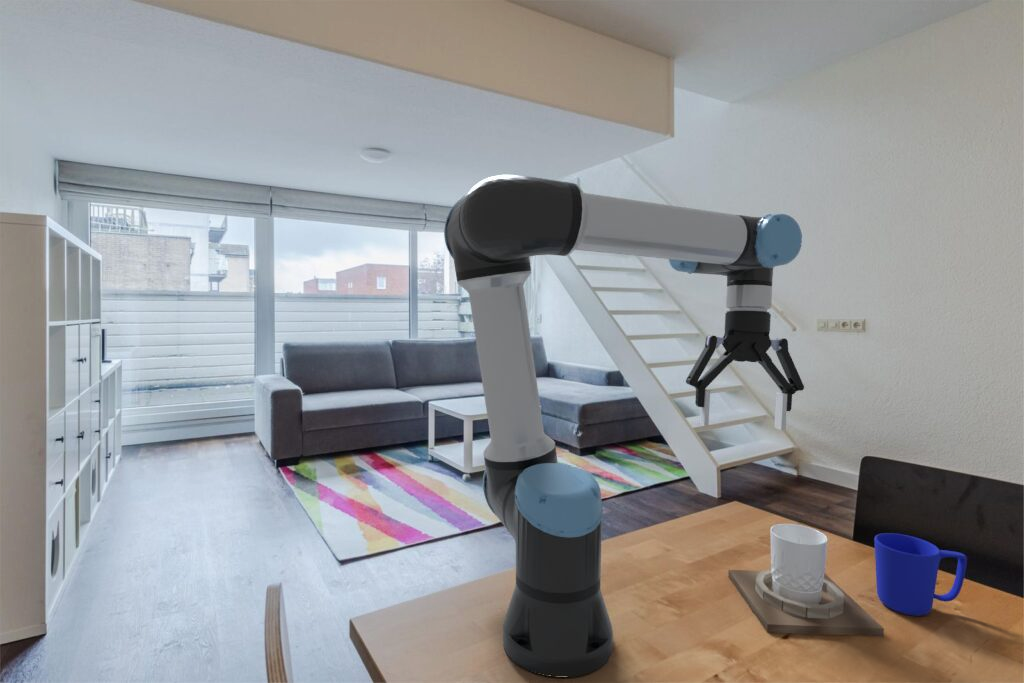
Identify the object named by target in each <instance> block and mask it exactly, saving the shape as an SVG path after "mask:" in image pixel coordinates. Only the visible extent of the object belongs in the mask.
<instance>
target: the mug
mask: <svg viewBox="0 0 1024 683" xmlns="http://www.w3.org/2000/svg"><path fill="white" fill-rule="evenodd" d="M873 539H874V542H873V543H874V557H875V558H874V559H875V561H874V562H875V579H876V582H875V584H876V593H877V597H878V599H879V600H880V602H881V603H882V604H883V605H885V606H886V607H887V608H889V609H891V610H893V611H895V612H898V613H901V614H903V615H909V616H918V617H919V616H925V615H928V613H930V612H931V611H932V609H933V604H934V599H935V600H937V601H940V602H951V601H954V600H955V599H957V597H958V596H959V594H960V592H961V590H962V587H963V585H964V584H963V583H964V580H965V574H966V569H967V563H968V557H967V555H965V554H964V553H963V552H958V551H953V550H945V549H944V550H943V549H939V547H938V546H936V545H935V544H933V543H931V542H929V541H927V540H925V539H921V538H918V537H915V536H911V535H907V534H903V533H893V532H889V533H888V532H884V533H879V534H876V535H875V536H874V538H873ZM944 558H956V559H957V566H956V573H955V576H954V577H955V578H954V580H953V581H954V582H953V584H952V587H951V589H950V590H948V592H947V593H944V594H937V593H936V592H935V591H936V585H937V579H938V572H939V568H940V567H939V565H940V562H941V560H942V559H944Z"/></svg>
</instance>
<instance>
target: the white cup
mask: <svg viewBox="0 0 1024 683" xmlns="http://www.w3.org/2000/svg"><path fill="white" fill-rule="evenodd" d="M769 529H770V531H769V532H770V567H771V568H770V569H771V573H772V589H773V592H774V593H776V594H777V595H779V596H781V597H783V598H785V599H788V600H792V601H796V602H799V603H803V604H816V605H818V604H819V603H820V602H821V597H822V586H823V582H824V573H825V572H826V565H827V564H826V561H827V555H828V554H827V552H828V541H829V540H828V537H827V535H826V534H825V533H823V532H822V531H819V530H817V529H815V528H813V527H809V526H805V525H800V524H795V523H779V524H773V525H772V526H771V527H770V528H769ZM825 574H826V573H825Z"/></svg>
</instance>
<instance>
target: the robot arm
mask: <svg viewBox="0 0 1024 683" xmlns="http://www.w3.org/2000/svg"><path fill="white" fill-rule="evenodd" d="M443 232H444V233H443V236H444V243H445V245H446V248H447V251H448V253H449V254H450V255H449V256H451V258H452V259H453V264H454V265H453V266H454V271H455V276H456V277H455V278H456V283H457V284H458V285H459V286H460V287H461V288H463V289H464V290H465V291H466V292H467V293H468V297H469V302H470V309H471V310H470V311H471V316H472V323H473V330H474V337H475V342H476V350H477V351H476V352H477V356H478V362H479V369H480V376H481V383H482V389H483V395H484V396H483V397H484V401H485V402H484V403H485V407H486V408H485V409H486V415H487V416H486V417H487V422H488V428H489V436H490V442H489V443H488V445H486V447H485V448H484V450H483V459H484V467H485V469H484V472H483V475H482V490H483V494H484V498H485V501H486V504H487V506H488V508H489V509H490V511H491V512H492V513H493V514H494V516H496V518H498V520H499V521H500V522H501V524H502V525H503V526H504V527H505V529H506V530H507V531H508V533H509V534H510V536H511V537H512V538H513V539H514V542H515V587H514V590H513V593H512V595H511V598H510V601H509V604H508V607H507V610H506V614H505V616H504V620H503V624H502V645H503V648H504V651H505V653H506V654H507V656H508V657H509V658H510V659H511V660H512V661H513V662H514V663H515V664H516V665H518V666H519V667H521V668H523V669H524V668H526V669H527V670H526V669H525V670H526V671H528V670H530V671H529V672H531V671H533V672H536V673H540V674H544V675H551V676H568V677H567V678H574V677H575V676H576V677H579V676H584V675H588V674H590V673H593V672H595V671H597V670H598V669H601V667H603V665H604V666H605V664H606V663H607V662H608V661H609V659H610V658H611V657H612V653H613V646H614V631H613V626H612V622H611V619H610V615H609V612H608V609H607V606H606V603H605V600H604V596H603V593H602V589H601V574H602V572H601V570H602V569H601V568H602V565H601V564H602V521H603V520H602V519H603V512H604V510H603V507H604V506H603V502H602V492H601V488H600V484H599V483H598V481H597V480H596V478H595V477H594V476H593V475H592V474H590V473H589V472H588V471H586V470H584V469H582V468H579V467H571V466H570V465H568V464H564V463H559V461H558V456H557V448H556V447H557V446H556V442H555V440H554V439H553V438H551V437H550V436H549V435H547V434H546V433H545V431H544V430H545V429H544V423H543V418H542V417H543V416H542V409H541V403H540V394H539V388H538V382H537V381H538V380H537V374H536V367H535V361H534V352H533V345H532V338H531V332H530V324H529V323H530V322H529V318H528V309H527V301H526V295H525V288H524V285H525V282H526V281H527V280H528V278H529V277H530V276H531V274H532V267H531V260H530V257H535V256H563V257H567V256H569V255H571V254H572V253H573V252H574V251H586V252H595V253H606V254H614V255H615V254H616V255H626V256H633V257H634V256H635V257H645V258H646V257H647V258H653V259H654V258H656V259H663V260H668V262H669V264H670V266H671V269H674V270H675V271H677V272H683V273H687V274H690V275H691V274H699V275H701V274H702V275H717V276H719V275H720V276H725V277H726V300H725V301H726V303H725V307H726V308H727V309H728V310H727V311H726V312H725V317H724V318H725V319H724V335H723V336H722V337H718V336H716V335H712V334H711V335H707V336H706V337H705V344H704V348H703V349H702V351H701V353H700V355H699V357H698V358H697V360H696V362H695V363H694V364H693V367H692V369H691V371H690V372H689V374H688V375H687V377H686V379H685V383H686V384H687V385H690V386H691V387H693V388H695V406H696V407H697V408H700V409H699V410H700V411H699V424H700V425H701V426H703V427H709V425H710V424H709V423H710V422H709V421H710V403H711V402H710V401H711V400H710V399H711V389H710V390H709V389H707V388H708V387H709V385H711V383H712V382H714V380H715V379H716V378H717V377H718V376H719V375H720V374H721V373H722V372H723V371H724V370H725V368H727V367H728V365H730V364H731V363H732V362H734V361H735V362H747V363H748V362H750V363H758V364H759V365H761V366H762V368H763V369H764V370H765V373H767V374H768V376H769V377H770V378H771V379H772V381H773V382H774V383H775V385H776V386H777V387H778V389H779V390H780V391H779V392H777V391H776V392H775V408H774V426H773V427H774V428H775V429H778V430H779V431H786V425H787V424H786V423H787V412H791V410H792V404H793V395H795V393H796V392H799V391H801V392H802V391H803V390H804V389H805V384H804V383H803V381H802V378H801V377H800V375H799V372H798V369H797V367H796V364H795V362H794V361H793V359H792V356H791V353H790V352H789V342H788V339H787V338H784V337H783V338H781V337H780V338H779V337H777V338H775V339H771V338H770V331H771V316H772V315H771V313H770V312H769V311H768V310H771V308H772V302H773V301H772V299H773V298H772V297H773V277H774V268H775V267H779V266H784V265H788V264H790V263H791V262H793V260H794V261H795V259H796V258H797V256H799V253H800V251H801V249H802V242H803V240H802V239H803V233H802V229H801V227H800V225H799V223H798V222H797V221H796V219H795V218H794V217H792V216H790V215H788V214H784V213H776V214H771V213H769V214H766V215H763V216H759V217H757V216H749V215H741V214H732V213H725V212H718V211H710V210H705V209H699V208H698V209H697V208H692V207H682V206H679V205H678V206H677V205H671V204H664V203H657V202H649V201H643V200H635V199H629V198H628V199H627V198H622V197H621V198H619V197H616V196H609V195H608V196H607V195H600V194H594V193H587V192H584V191H583V190H582V188H581V186H580V185H579V184H578V183H573V182H567V181H561V180H554V179H549V178H542V177H536V176H535V177H534V176H527V175H520V174H519V175H518V174H498V175H494V176H489V177H487V178H484V179H483V180H481V181H479V182H478V183H476V184H475V185H474V186H473V187H472V188H471V189H470V190H469V191H468V192H467V194H465V195H463V196H462V197H460V199H459V200H457V201H456V202H455V203H453V206H452V207H451V209H450V210H449V212H448V215H447V217H446V220H445V224H444V230H443ZM721 345H722V347H723V348H724V349H725V351H724V352H723V353H722V354H721V355H720V356H719V358H718V359H717V360H716V362H714V363H713V365H712V366H711V367H710V368H708V370H707V371H706V372H705V373H704V374H703V372H704V370H705V369H706V367H707V365H708V364H709V362H710V360H711V359H712V356H713V355H714V353H715V350H716V349H718V348H719V347H720V346H721ZM770 348H772V350H773V351H775V353H776V356H777V359H778V361H779V363H780V365H781V367H782V370H783V372H784V374H785V376H784V374H782V372H781V371H780V370H779V369H778V367H777V366H776V364H774V362H773V360H772V358H771V356H769V354H768V350H769V349H770ZM702 374H703V375H702ZM533 672H532V673H533ZM536 673H535V674H536ZM540 674H539V675H540ZM544 675H543V676H544Z"/></svg>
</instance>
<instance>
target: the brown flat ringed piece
mask: <svg viewBox="0 0 1024 683" xmlns="http://www.w3.org/2000/svg"><path fill="white" fill-rule="evenodd" d="M727 576H728V578H729V580H730V582H732V584H733V586H734V587H735V588H736V590H737V591H738V592H739V594H740V595H741V597H742V599H743V600H744V601H745V603H746V604H747V605H748V607H749V608H750V610H751V611H752V613H753V614H754V615H755V617H756V618H757V619H758V620H757V621H759V623H760V624H761V625H762V627H763V628H764V630H765V631H766V633H772V634H773V633H775V634H803V635H827V636H828V635H829V636H831V635H832V636H855V637H856V636H857V637H880V638H883V637H884V634H885V633H884V632H885V628H884V627H883V626H882V625H881V624H880V623H879V622H877V621H876V620H875V618H874V617H872V616H871V614H869V613H868V612H867V611H866V610H865V609H863V607H862V606H860V605H859V603H857V602H856V601H855V600H854V599H853V598H852V597H851V596H850V595H848V594H847V593H846V592H845V591H844V589H842V588H841V587H840V586H839V585H838V584H837V583H836V582H835V581H834V580H833V579H832V578H831V577H829V576H828V574H826V573H824V582H823V586H822V597H821V602H820V603H819V604H818V605H816V604H803V603H799V602H796V601H792V600H788V599H785V598H783V597H781V596H779V595H777V594H776V593H774V592H773V589H772V573H771V568H768V569H764V570H745V569H743V570H742V569H728V575H727Z"/></svg>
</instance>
